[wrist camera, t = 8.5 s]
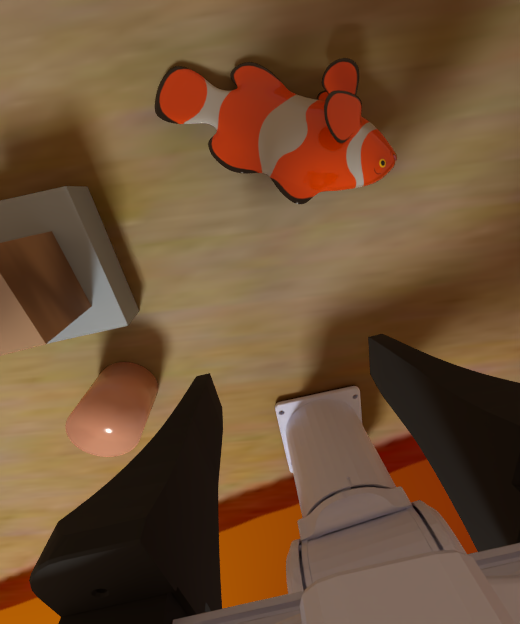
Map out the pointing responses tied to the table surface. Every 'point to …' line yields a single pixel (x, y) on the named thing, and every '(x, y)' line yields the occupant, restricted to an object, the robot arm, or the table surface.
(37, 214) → the slate slab
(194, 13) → the table surface
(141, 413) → the terracotta cylinder
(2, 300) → the walnut cube
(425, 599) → the robot arm
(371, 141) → the fish
